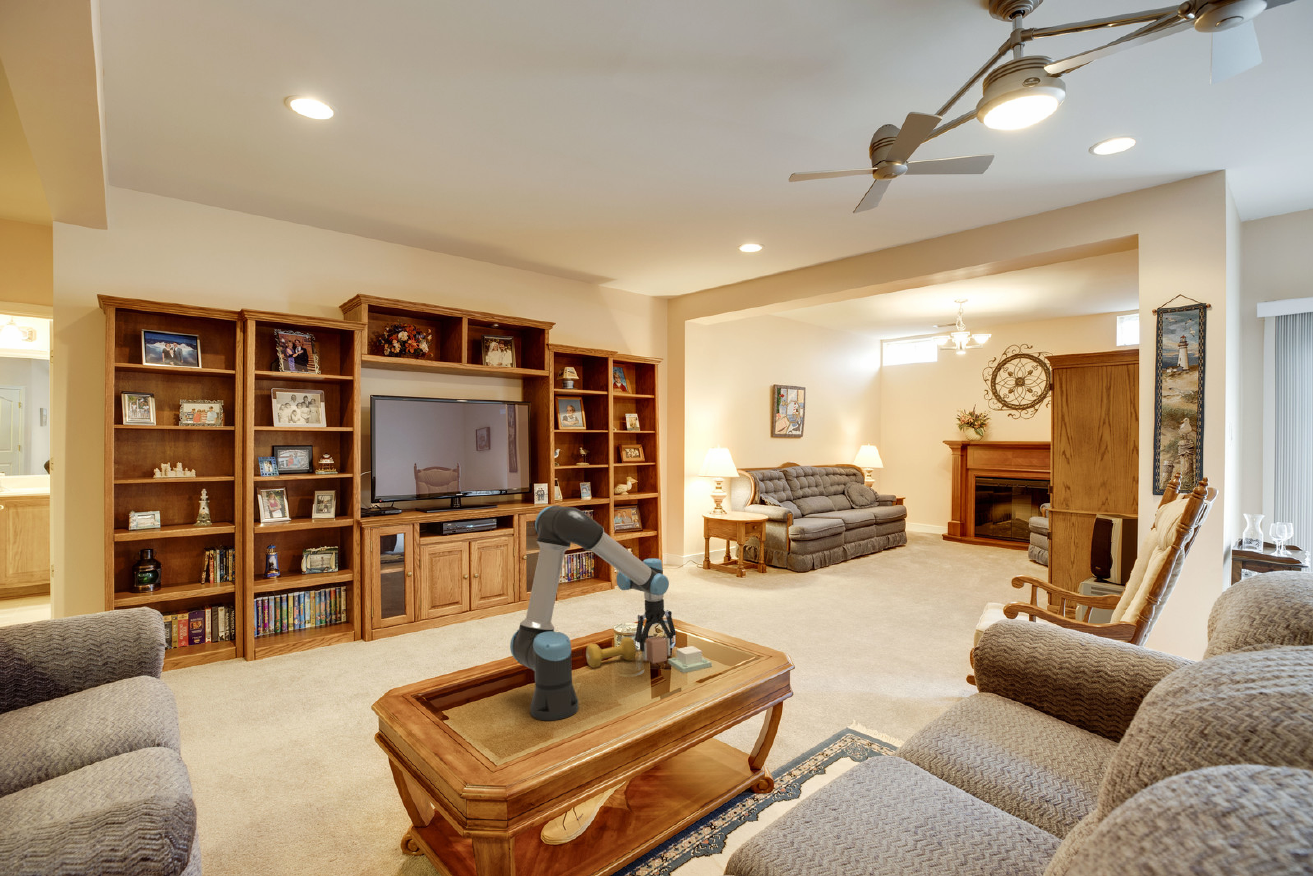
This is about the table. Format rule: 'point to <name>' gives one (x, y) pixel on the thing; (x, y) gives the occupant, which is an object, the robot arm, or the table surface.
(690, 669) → the tower base
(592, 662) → the dumbbell
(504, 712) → the table surface
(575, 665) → the table surface
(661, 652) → the top brick
